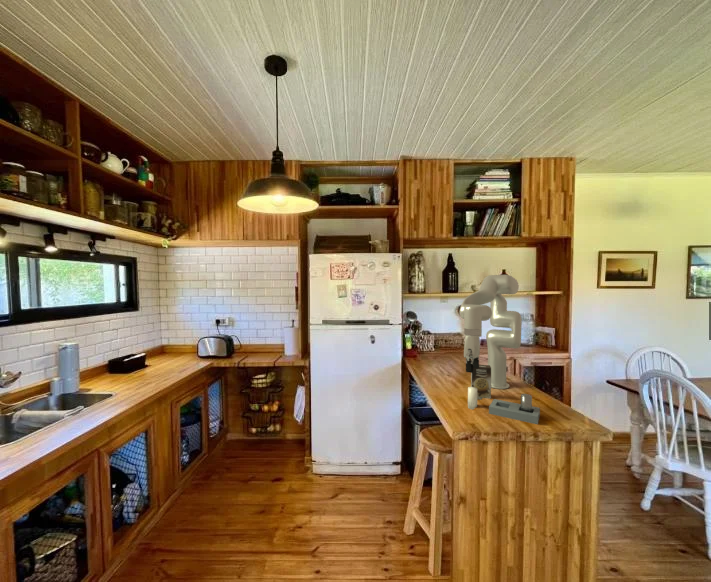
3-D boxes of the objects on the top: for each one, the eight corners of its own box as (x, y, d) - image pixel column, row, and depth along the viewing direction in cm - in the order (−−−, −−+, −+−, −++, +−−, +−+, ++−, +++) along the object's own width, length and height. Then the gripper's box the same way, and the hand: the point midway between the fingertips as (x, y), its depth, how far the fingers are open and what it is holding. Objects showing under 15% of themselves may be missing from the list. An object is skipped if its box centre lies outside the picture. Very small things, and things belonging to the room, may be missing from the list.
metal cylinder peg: (521, 414, 129) (521, 393, 129) (532, 416, 127) (532, 394, 127) (520, 417, 126) (520, 395, 126) (531, 419, 123) (531, 397, 123)
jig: (494, 407, 138) (494, 398, 138) (539, 417, 128) (539, 407, 128) (488, 415, 129) (488, 406, 129) (537, 426, 119) (537, 416, 119)
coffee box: (471, 398, 150) (471, 366, 150) (470, 394, 156) (470, 363, 156) (491, 400, 147) (491, 367, 147) (490, 396, 153) (490, 364, 153)
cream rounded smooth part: (469, 405, 141) (469, 386, 141) (478, 407, 139) (478, 387, 139) (466, 408, 138) (466, 388, 138) (476, 410, 135) (476, 390, 135)
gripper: (469, 330, 147) (469, 365, 147) (458, 334, 133) (458, 372, 133) (485, 331, 143) (485, 367, 143) (476, 335, 129) (476, 375, 129)
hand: (472, 370), depth 138 cm, fingers open, 9 cm apart
